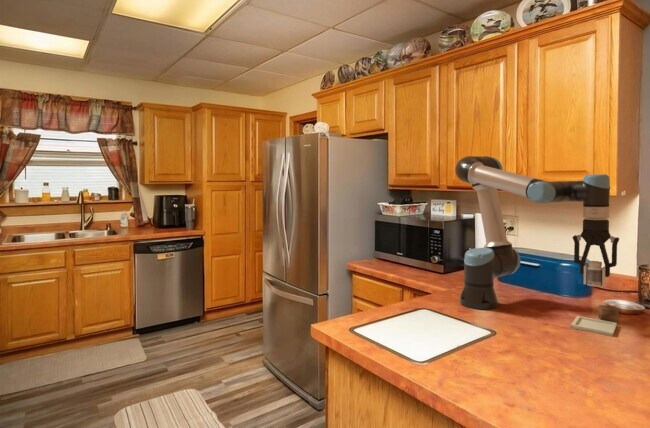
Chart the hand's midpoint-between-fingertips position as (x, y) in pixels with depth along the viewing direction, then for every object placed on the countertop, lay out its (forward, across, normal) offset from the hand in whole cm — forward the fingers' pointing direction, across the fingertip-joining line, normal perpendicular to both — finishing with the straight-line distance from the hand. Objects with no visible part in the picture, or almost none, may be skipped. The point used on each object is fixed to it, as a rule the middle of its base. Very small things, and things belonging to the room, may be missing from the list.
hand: (594, 284), depth 136 cm
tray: (+15, 0, 0) cm, 15 cm away
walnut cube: (+15, +3, +10) cm, 19 cm away
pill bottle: (+1, 0, 0) cm, 1 cm away
